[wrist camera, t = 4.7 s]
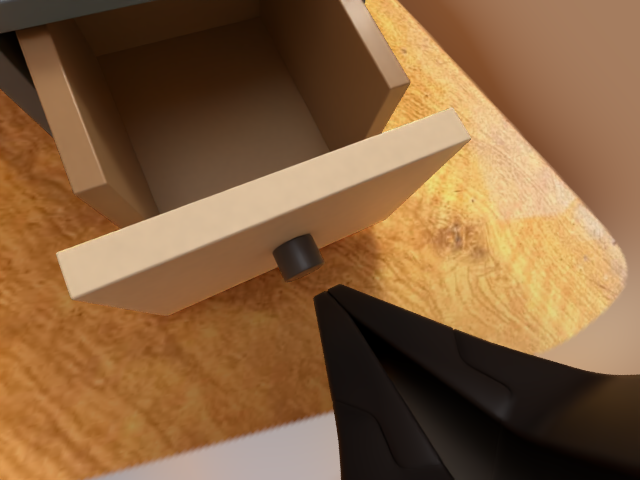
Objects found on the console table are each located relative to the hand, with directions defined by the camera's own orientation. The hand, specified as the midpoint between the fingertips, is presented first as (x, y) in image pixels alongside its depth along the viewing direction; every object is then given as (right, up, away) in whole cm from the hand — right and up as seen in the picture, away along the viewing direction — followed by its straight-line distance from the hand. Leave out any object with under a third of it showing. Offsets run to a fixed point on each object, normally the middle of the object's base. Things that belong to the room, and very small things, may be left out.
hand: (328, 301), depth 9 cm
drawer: (-4, +6, +8) cm, 11 cm away
